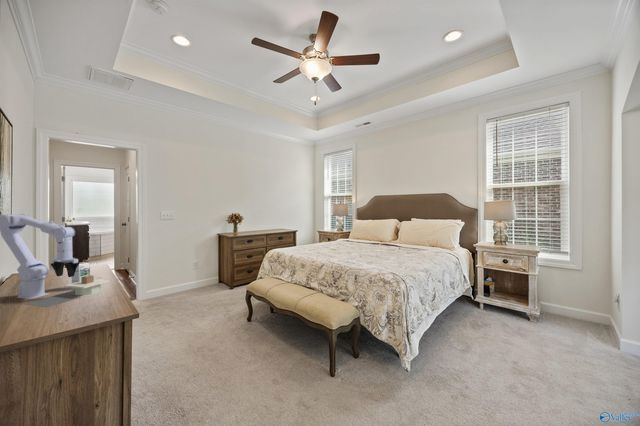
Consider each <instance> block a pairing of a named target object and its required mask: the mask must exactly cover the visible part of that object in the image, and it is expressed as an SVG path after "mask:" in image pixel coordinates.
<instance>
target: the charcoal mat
mask: <svg viewBox="0 0 640 426" xmlns="http://www.w3.org/2000/svg"><path fill="white" fill-rule="evenodd" d="M80 298H81V296H77V295H63V294H55V295H50V296H48V297H43V298H40V299H36V300H32V301H29V302H26V303H23V305H24V306H34V307H43V308H50V307H53V306H57V305H61V304H63V303H66V302H69V301H73V300H77V299H80Z"/></svg>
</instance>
